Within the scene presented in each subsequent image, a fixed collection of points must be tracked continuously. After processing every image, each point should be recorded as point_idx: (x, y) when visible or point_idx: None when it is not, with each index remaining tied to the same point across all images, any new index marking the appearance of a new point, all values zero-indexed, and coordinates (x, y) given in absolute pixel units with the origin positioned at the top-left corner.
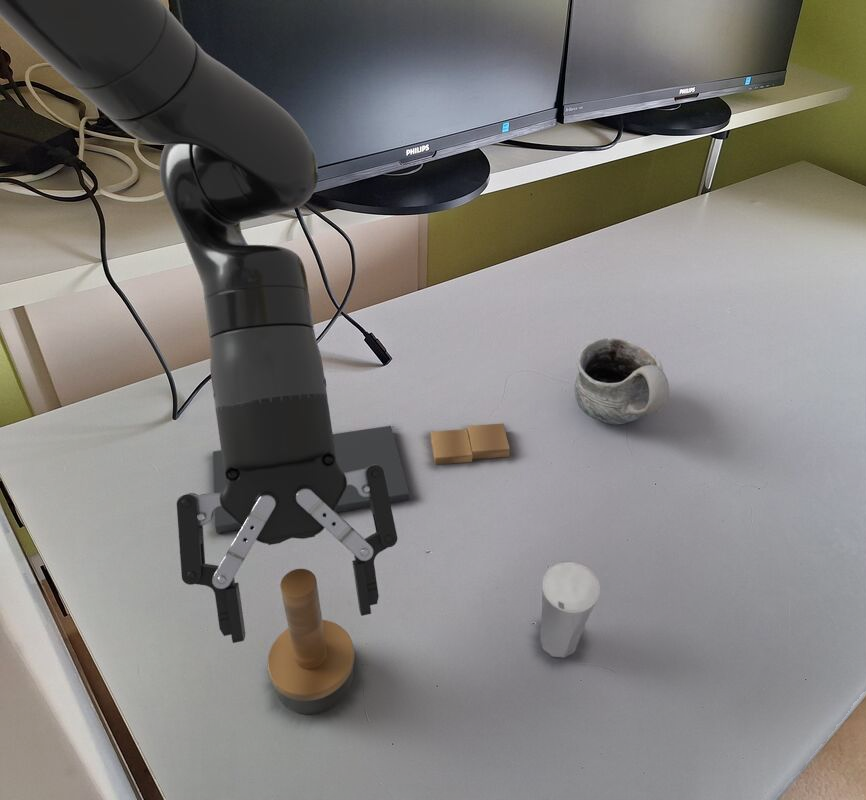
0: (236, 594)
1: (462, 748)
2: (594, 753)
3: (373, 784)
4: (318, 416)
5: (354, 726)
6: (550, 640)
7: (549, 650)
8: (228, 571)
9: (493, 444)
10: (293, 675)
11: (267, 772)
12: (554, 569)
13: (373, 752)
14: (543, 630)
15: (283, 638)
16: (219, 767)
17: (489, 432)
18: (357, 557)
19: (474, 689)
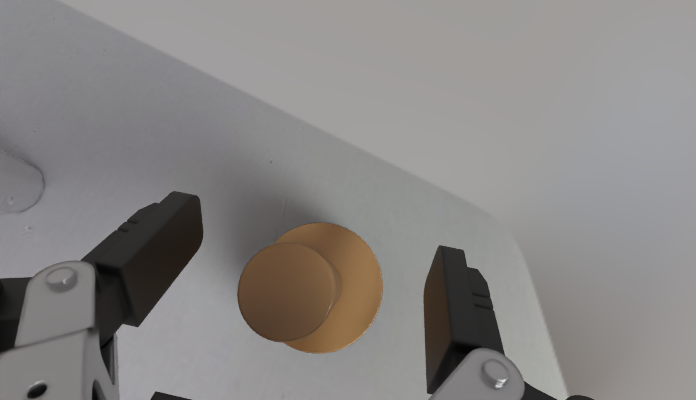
0: (450, 323)
1: (204, 122)
2: (83, 55)
3: (308, 131)
4: None
5: (302, 200)
6: (13, 167)
7: (35, 174)
8: (473, 391)
9: None
10: (352, 264)
11: (409, 194)
12: None
13: (294, 162)
14: (8, 181)
15: (347, 334)
16: (457, 224)
17: None
18: (94, 276)
19: (153, 178)
